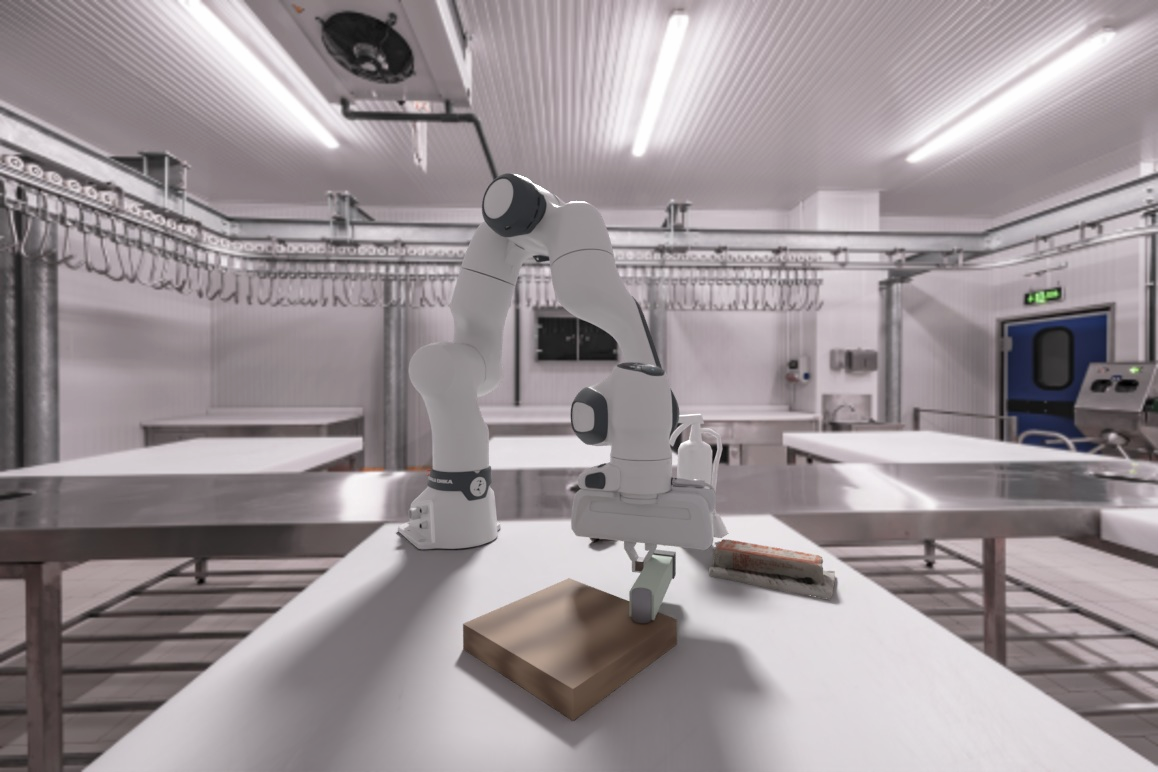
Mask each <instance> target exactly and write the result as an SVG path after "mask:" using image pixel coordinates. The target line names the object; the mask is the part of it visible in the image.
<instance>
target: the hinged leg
mask: <svg viewBox="0 0 1158 772" xmlns="http://www.w3.org/2000/svg"><path fill="white" fill-rule="evenodd" d="M676 561H677V553H676V551H673V550H672V551H671V550H663V549H662V550H661V549H656V550H655V552H654V553H653V555H652V557H651V558H650V560H649V561H648V562H647V563H646V565H645V567H644V568H643V570H642V572H641V573H639V575H638V577H637V578H636V580H635V582H634V583H633V585H632V586H631V588H630V590H629V594H628V596H629V597H628V598H629V599H628V601H629V616H630V617H632V620H633V621H634V622H637V623H648V622H650V621H651V620H654V619H655V617H656V615H657V612H659V610H660V608H661V605H662V603H663V601H664V599H665V595H666V594H667V591H668V589H669V587H670V585H671V582H672V580H675V577H676V573H677V572H676V570H677V569H676V568H677V567H676V563H677V562H676Z"/></svg>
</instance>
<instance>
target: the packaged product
mask: <svg viewBox="0 0 1158 772" xmlns="http://www.w3.org/2000/svg"><path fill="white" fill-rule="evenodd" d="M712 559H713V563H712V565H711V566H710V567H709V569H708V576H709V577H710V576H711V577H714V578H719V579H724V580H730V581H733V582H738V583H743V584H748V585H752V586H757V587H761V588H767V589H772V590H776V589H777V591H781V590H782V592H787V593H793V594H796V593H797V595H802V594H804V595H803V596H807V595H811V596H810V597H812V596H816V597H815V598H818V597H820V598H819V599H823V598H827V599H826V600H829V599H831V600H832V596H833V593H834V592H833V591H834V586H835V583H836V578H835V577H836V575H835V574H836V572H835V571H833V570H825V569H824V567H823V562H824V559H823V557H822V556H820V555H818V554H813V553H806V552H804V551H798V550H797V551H796V550H790V549H783V548H780V547H775V546H768V545H762V544H756V543H751V542H745V541H744V542H743V541H739V540H732V539H721V541H720V542H719V543H717V545H715V547H714V548H713V549H712Z"/></svg>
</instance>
